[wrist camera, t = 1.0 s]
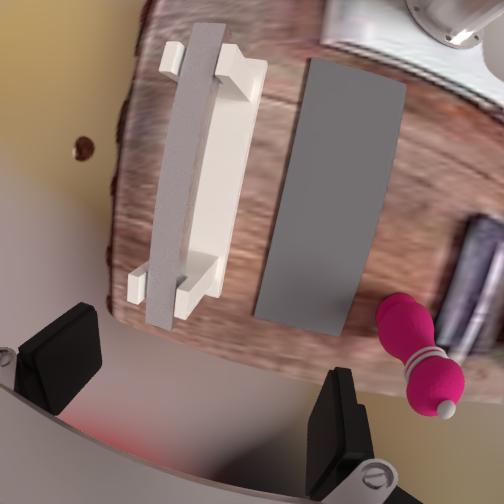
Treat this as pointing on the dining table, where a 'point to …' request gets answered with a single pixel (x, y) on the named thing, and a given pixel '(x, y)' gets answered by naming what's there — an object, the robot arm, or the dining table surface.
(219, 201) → the rail stand
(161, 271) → the rail
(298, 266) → the mat
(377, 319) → the pepper mill
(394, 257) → the dining table surface
